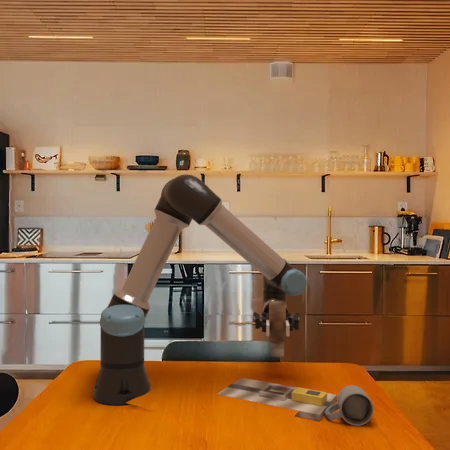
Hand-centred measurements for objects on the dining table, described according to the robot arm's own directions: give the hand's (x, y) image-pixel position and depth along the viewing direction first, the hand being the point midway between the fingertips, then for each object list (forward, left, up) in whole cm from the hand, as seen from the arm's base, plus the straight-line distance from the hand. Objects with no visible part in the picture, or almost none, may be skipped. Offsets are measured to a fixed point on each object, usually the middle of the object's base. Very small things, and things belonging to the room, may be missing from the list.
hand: (277, 330), depth 122 cm
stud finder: (+7, +5, -18) cm, 20 cm away
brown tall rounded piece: (-2, +5, -8) cm, 9 cm away
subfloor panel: (-2, +5, -20) cm, 20 cm away
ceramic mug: (+18, +2, -20) cm, 27 cm away
